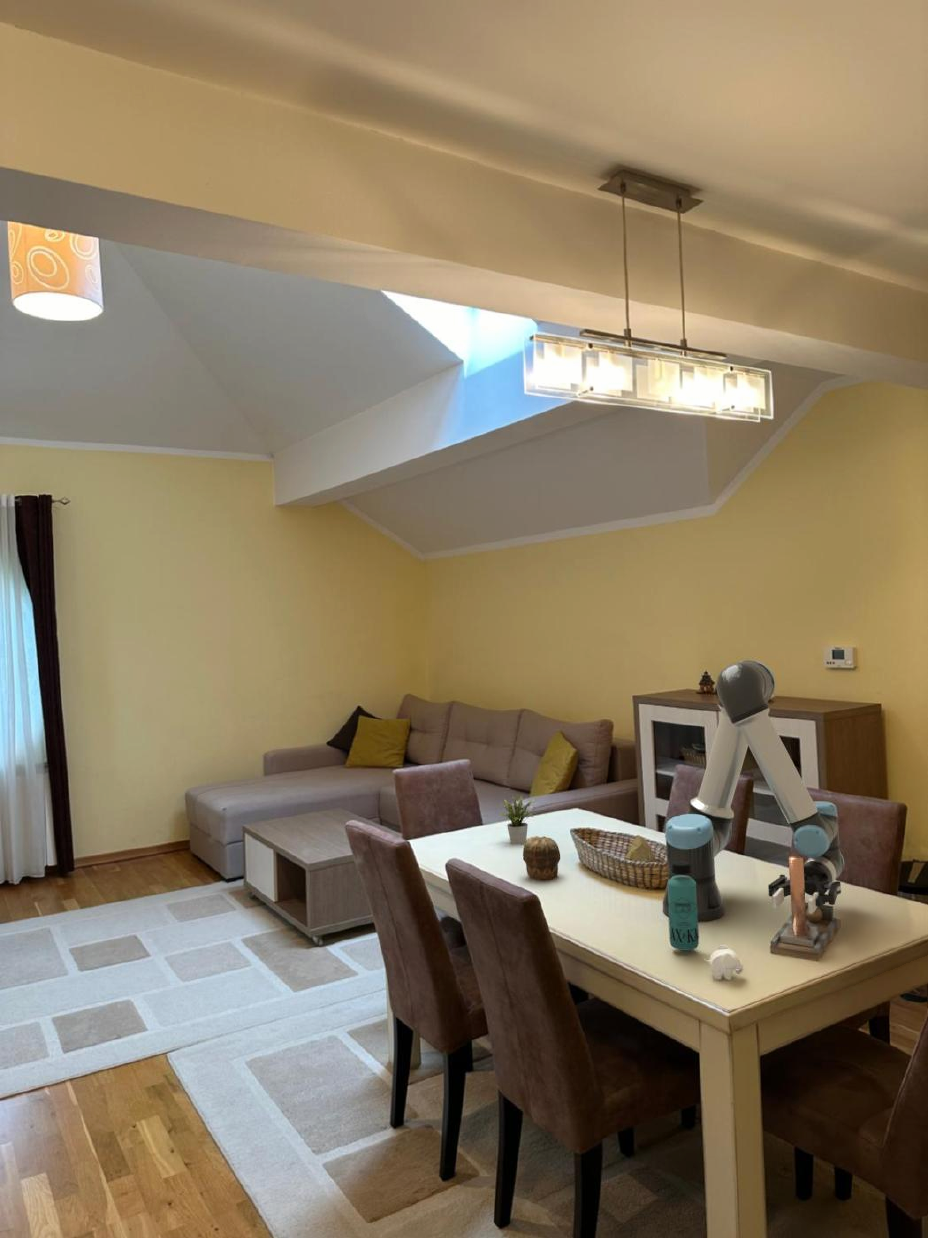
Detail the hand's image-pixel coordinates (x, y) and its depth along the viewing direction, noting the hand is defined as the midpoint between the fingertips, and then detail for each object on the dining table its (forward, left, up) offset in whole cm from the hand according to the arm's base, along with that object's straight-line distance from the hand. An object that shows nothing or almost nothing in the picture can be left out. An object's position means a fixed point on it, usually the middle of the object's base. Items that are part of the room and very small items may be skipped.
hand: (792, 904), depth 187 cm
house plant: (-78, +90, -11) cm, 120 cm away
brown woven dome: (-64, +52, -11) cm, 84 cm away
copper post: (+2, +5, -9) cm, 11 cm away
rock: (-36, +61, -11) cm, 72 cm away
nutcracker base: (+4, +10, -11) cm, 16 cm away
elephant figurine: (-15, -14, -11) cm, 23 cm away
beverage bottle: (-23, -1, -11) cm, 26 cm away
